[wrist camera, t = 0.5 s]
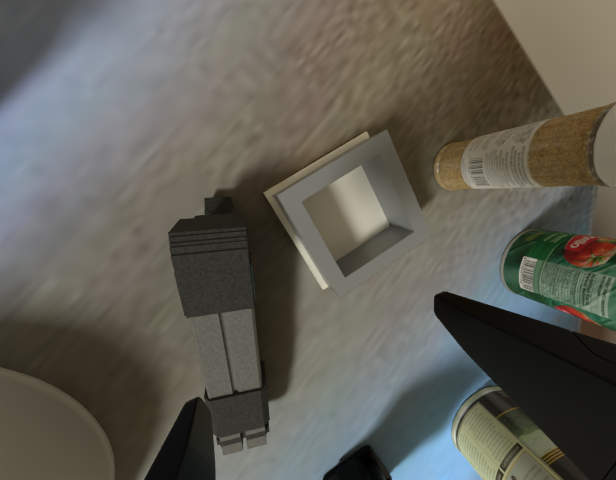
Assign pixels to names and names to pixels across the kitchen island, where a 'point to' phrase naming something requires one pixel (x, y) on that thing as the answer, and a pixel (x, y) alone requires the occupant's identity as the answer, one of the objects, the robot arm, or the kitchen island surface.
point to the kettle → (49, 434)
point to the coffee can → (507, 441)
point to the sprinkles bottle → (535, 155)
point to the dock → (351, 212)
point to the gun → (223, 320)
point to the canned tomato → (564, 273)
